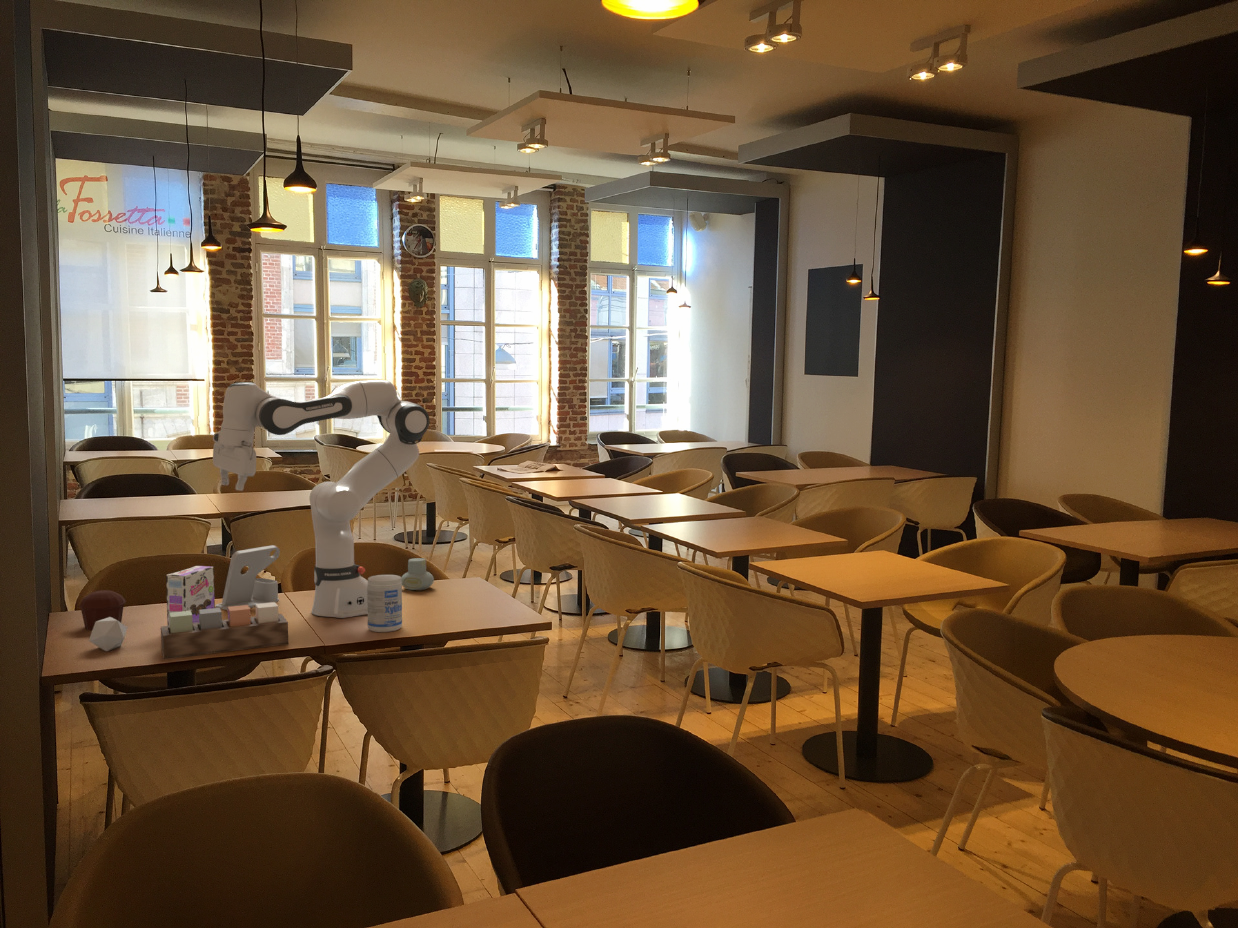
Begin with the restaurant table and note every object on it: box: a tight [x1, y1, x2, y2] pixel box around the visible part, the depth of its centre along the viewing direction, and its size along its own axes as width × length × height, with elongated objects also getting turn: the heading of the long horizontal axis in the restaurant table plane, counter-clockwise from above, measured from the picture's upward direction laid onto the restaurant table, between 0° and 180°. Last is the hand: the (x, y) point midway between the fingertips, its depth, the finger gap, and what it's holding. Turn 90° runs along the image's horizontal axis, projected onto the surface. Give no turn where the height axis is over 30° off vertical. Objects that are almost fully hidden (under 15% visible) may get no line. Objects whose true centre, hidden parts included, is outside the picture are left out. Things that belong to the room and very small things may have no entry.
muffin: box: [78, 589, 127, 631], centre depth 271 cm, size 12×11×10 cm
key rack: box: [160, 613, 289, 660], centre depth 252 cm, size 30×10×6 cm, turn 119°
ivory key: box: [255, 602, 279, 624], centre depth 257 cm, size 5×5×5 cm
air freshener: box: [400, 557, 435, 591], centre depth 322 cm, size 11×8×10 cm
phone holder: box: [215, 544, 281, 611], centre depth 299 cm, size 17×10×18 cm, turn 147°
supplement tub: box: [367, 574, 403, 633], centre depth 271 cm, size 10×10×15 cm
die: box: [88, 617, 128, 652], centre depth 250 cm, size 8×9×10 cm
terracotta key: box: [227, 605, 251, 627], centre depth 254 cm, size 5×5×5 cm
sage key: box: [169, 611, 193, 633], centre depth 247 cm, size 5×5×5 cm
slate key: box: [199, 607, 223, 630], centre depth 250 cm, size 5×5×5 cm
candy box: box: [165, 565, 216, 626], centre depth 271 cm, size 14×6×16 cm, turn 168°
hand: (231, 487), depth 271 cm, fingers open, 8 cm apart
